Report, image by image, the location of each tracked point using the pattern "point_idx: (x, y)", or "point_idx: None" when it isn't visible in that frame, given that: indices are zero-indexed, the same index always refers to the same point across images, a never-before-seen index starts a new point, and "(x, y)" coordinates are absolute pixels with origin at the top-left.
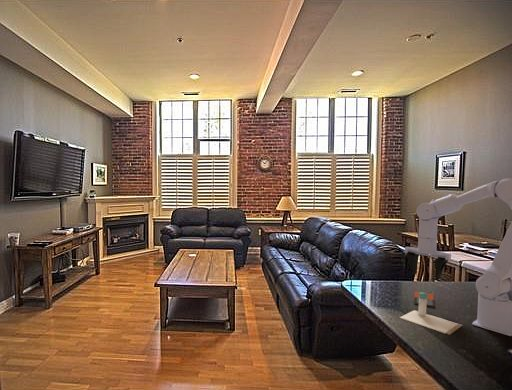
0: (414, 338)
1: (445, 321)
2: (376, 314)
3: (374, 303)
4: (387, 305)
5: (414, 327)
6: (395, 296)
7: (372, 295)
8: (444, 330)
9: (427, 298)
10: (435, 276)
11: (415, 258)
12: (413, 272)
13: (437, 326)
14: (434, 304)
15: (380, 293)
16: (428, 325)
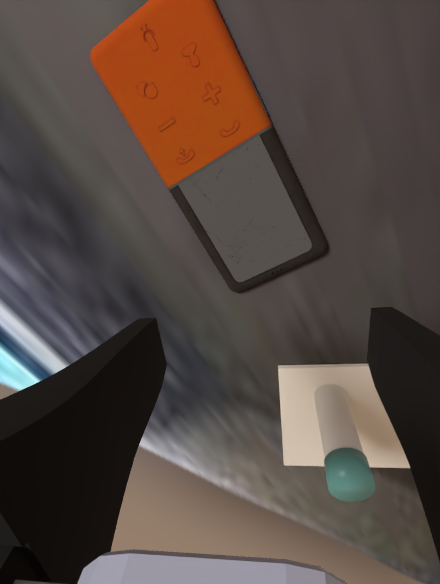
0: (386, 539)
1: None
2: (217, 484)
3: None
4: (175, 392)
5: None
6: (99, 254)
7: (51, 339)
8: None
9: (228, 141)
10: (380, 390)
11: (82, 496)
12: (157, 382)
13: None
14: (308, 212)
15: (35, 280)
16: (388, 458)
